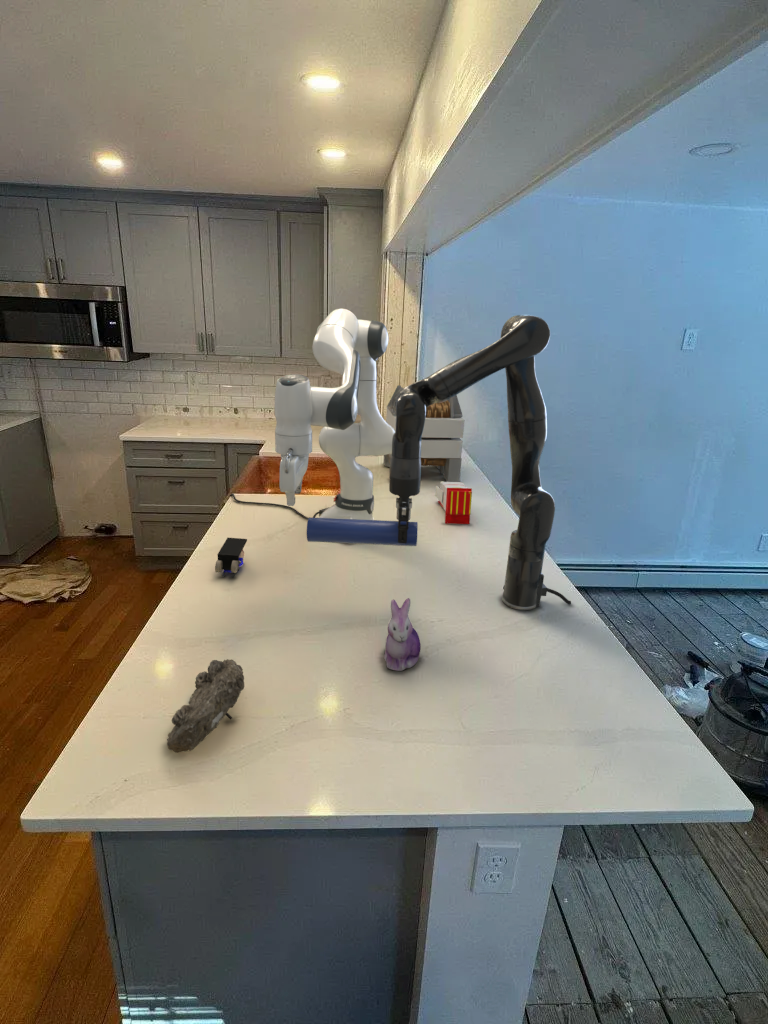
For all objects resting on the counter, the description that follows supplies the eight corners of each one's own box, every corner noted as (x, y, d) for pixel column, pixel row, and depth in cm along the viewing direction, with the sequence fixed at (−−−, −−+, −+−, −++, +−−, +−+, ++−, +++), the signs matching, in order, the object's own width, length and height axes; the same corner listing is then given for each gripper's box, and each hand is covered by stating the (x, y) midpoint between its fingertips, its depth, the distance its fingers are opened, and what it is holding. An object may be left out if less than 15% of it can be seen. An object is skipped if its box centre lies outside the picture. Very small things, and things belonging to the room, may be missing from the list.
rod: (306, 545, 142) (306, 522, 140) (310, 536, 147) (310, 514, 145) (416, 550, 141) (417, 527, 139) (416, 540, 147) (417, 518, 145)
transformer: (382, 463, 289) (386, 382, 275) (445, 464, 293) (451, 384, 279) (390, 482, 257) (394, 392, 243) (460, 483, 261) (468, 394, 247)
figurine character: (238, 584, 162) (249, 557, 175) (236, 562, 158) (247, 536, 172) (215, 584, 161) (227, 556, 175) (212, 561, 158) (225, 535, 171)
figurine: (394, 677, 122) (397, 616, 117) (372, 652, 130) (375, 594, 125) (431, 667, 126) (436, 607, 121) (408, 643, 134) (412, 587, 129)
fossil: (192, 660, 117) (244, 628, 112) (224, 691, 120) (276, 661, 115) (142, 746, 98) (202, 712, 93) (182, 779, 101) (242, 748, 96)
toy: (463, 477, 236) (476, 489, 206) (461, 509, 239) (474, 525, 209) (433, 476, 235) (443, 488, 206) (432, 508, 238) (441, 524, 209)
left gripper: (300, 455, 127) (300, 513, 131) (312, 436, 146) (312, 487, 151) (271, 454, 127) (273, 512, 131) (288, 435, 146) (288, 486, 151)
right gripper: (421, 483, 131) (417, 549, 137) (419, 466, 144) (416, 527, 150) (389, 481, 131) (386, 548, 137) (390, 465, 144) (388, 526, 150)
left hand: (294, 498), depth 141 cm, fingers open, 8 cm apart
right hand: (402, 537), depth 143 cm, fingers closed on rod, 6 cm apart
